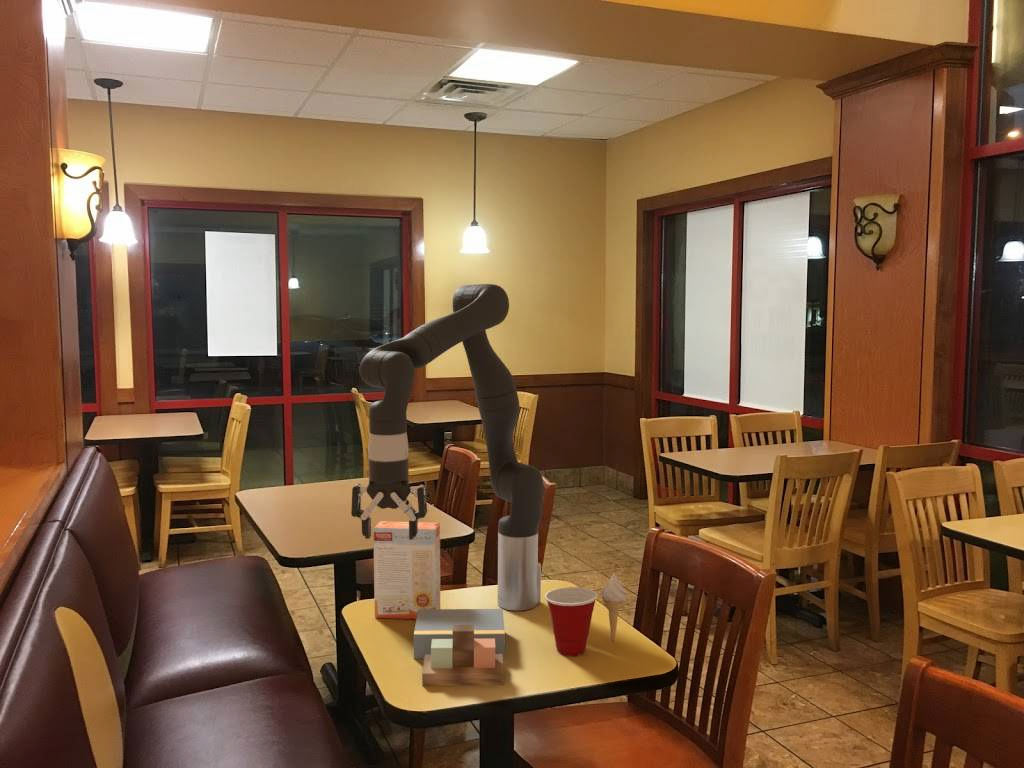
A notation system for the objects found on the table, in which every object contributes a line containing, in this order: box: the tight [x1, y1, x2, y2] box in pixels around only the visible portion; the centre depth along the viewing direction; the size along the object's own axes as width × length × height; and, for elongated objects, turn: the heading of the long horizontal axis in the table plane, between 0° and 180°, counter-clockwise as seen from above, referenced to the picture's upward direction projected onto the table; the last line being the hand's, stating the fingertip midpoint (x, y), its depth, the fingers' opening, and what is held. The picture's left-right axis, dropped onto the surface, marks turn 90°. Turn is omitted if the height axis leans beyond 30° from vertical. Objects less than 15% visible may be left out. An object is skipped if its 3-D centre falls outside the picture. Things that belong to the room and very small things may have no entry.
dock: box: [413, 608, 506, 660], centre depth 172 cm, size 18×13×5 cm
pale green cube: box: [431, 639, 453, 669], centre depth 158 cm, size 4×4×4 cm
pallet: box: [421, 625, 505, 687], centre depth 158 cm, size 15×8×10 cm, turn 92°
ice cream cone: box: [600, 572, 628, 642], centre depth 174 cm, size 6×6×15 cm
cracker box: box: [373, 520, 441, 620], centre depth 186 cm, size 14×6×21 cm, turn 84°
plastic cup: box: [544, 586, 599, 657], centre depth 170 cm, size 11×11×12 cm
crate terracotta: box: [474, 638, 495, 668], centre depth 158 cm, size 4×4×4 cm
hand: (389, 538), depth 161 cm, fingers open, 8 cm apart
